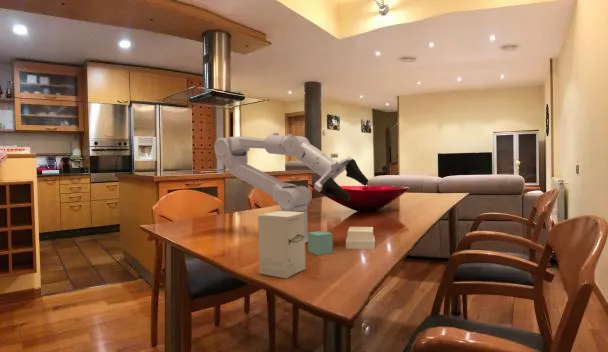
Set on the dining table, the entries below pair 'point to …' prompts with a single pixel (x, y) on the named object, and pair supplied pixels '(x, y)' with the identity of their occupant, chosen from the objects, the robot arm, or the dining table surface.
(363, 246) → the bottom slab
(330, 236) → the teal block
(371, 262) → the dining table surface
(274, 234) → the supplement box
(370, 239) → the top slab
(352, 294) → the dining table surface
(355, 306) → the dining table surface
